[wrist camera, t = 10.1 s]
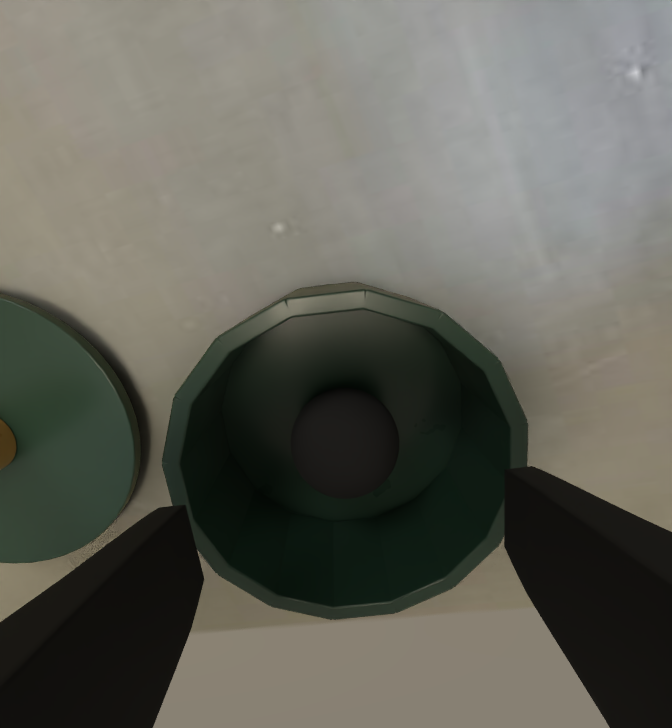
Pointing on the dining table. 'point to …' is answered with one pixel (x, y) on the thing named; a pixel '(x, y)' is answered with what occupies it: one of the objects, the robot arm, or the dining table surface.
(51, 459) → the lid
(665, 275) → the dining table surface
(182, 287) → the dining table surface
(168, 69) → the dining table surface
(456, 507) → the tin
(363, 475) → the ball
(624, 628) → the robot arm
